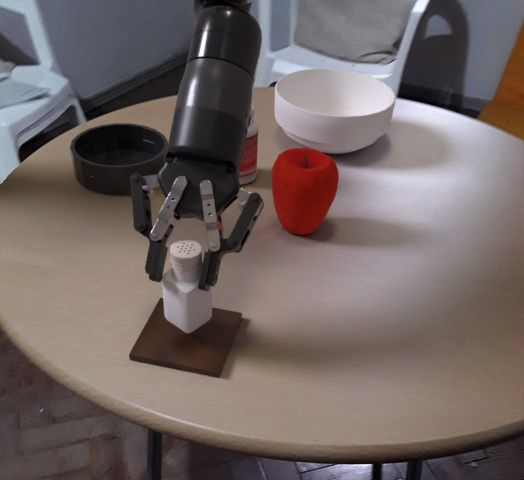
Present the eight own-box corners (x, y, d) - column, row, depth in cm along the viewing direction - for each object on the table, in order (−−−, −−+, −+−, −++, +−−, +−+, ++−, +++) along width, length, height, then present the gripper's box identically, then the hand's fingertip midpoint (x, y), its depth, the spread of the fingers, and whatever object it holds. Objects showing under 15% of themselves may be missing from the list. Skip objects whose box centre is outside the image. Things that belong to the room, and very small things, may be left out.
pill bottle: (260, 170, 99) (264, 100, 91) (250, 189, 95) (253, 117, 87) (222, 164, 100) (223, 94, 92) (211, 182, 96) (210, 111, 88)
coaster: (129, 359, 68) (128, 354, 67) (160, 302, 75) (160, 297, 74) (218, 377, 66) (218, 372, 66) (242, 317, 73) (242, 312, 73)
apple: (333, 214, 91) (344, 143, 83) (328, 248, 84) (338, 175, 77) (273, 206, 91) (278, 135, 84) (263, 239, 85) (267, 166, 78)
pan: (58, 186, 92) (53, 158, 89) (98, 144, 102) (94, 117, 99) (150, 202, 91) (148, 173, 88) (181, 157, 101) (180, 130, 98)
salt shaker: (188, 337, 67) (185, 265, 60) (162, 319, 69) (157, 248, 62) (214, 319, 69) (214, 248, 62) (188, 302, 71) (186, 231, 64)
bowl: (252, 125, 110) (254, 76, 105) (346, 109, 117) (353, 62, 112) (308, 177, 98) (313, 125, 92) (409, 155, 105) (420, 105, 99)
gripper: (132, 93, 60) (97, 267, 60) (277, 114, 59) (242, 294, 58) (155, 123, 68) (124, 278, 68) (284, 143, 66) (253, 302, 66)
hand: (179, 284), depth 63 cm, fingers closed on salt shaker, 4 cm apart
